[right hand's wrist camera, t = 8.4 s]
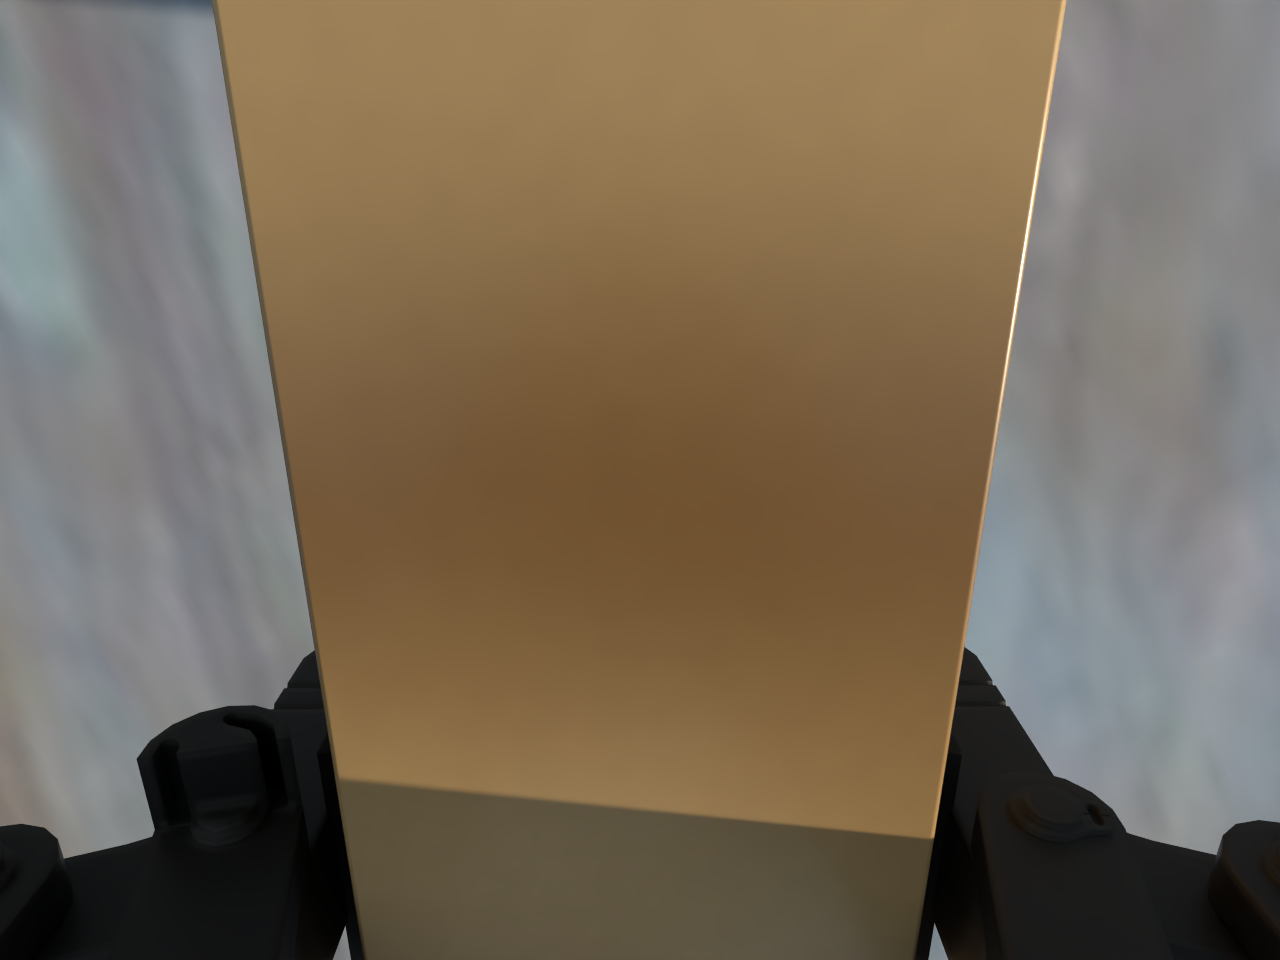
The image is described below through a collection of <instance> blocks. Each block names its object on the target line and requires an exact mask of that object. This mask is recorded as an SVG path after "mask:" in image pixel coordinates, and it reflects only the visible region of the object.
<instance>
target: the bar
mask: <svg viewBox="0 0 1280 960" xmlns="http://www.w3.org/2000/svg"><path fill="white" fill-rule="evenodd" d="M212 5H213V11H214V17H215V24H216V30H217V36H218V42H219V49H220V55H221V61H222V68H223V74H224V80H225V87H226V93H227V99H228V105H229V112H230V118H231V124H232V131H233V137H234V143H235V150H236V156H237V162H238V169H239V175H240V181H241V187H242V194H243V200H244V206H245V213H246V219H247V225H248V232H249V238H250V244H251V250H252V257H253V263H254V269H255V276H256V282H257V288H258V295H259V301H260V307H261V314H262V320H263V326H264V332H265V339H266V345H267V351H268V358H269V364H270V370H271V377H272V383H273V389H274V395H275V402H276V408H277V414H278V421H279V427H280V433H281V440H282V446H283V452H284V458H285V465H286V471H287V477H288V484H289V490H290V496H291V503H292V509H293V515H294V522H295V528H296V534H297V540H298V547H299V553H300V559H301V566H302V572H303V578H304V585H305V591H306V597H307V603H308V610H309V616H310V622H311V629H312V635H313V641H314V648H315V654H316V660H317V666H318V673H319V679H320V685H321V692H322V698H323V704H324V711H325V717H326V723H327V730H328V736H329V742H330V748H331V755H332V761H333V767H334V774H335V780H336V786H337V793H338V799H339V805H340V811H341V818H342V824H343V830H344V837H345V843H346V849H347V856H348V862H349V868H350V874H351V881H352V887H353V893H354V900H355V906H356V912H357V919H358V925H359V931H360V938H361V944H362V950H363V956H364V960H915V955H916V949H917V942H918V936H919V930H920V923H921V917H922V911H923V904H924V898H925V892H926V885H927V879H928V873H929V866H930V860H931V854H932V847H933V841H934V835H935V828H936V822H937V816H938V810H939V803H940V797H941V791H942V784H943V778H944V772H945V765H946V759H947V753H948V746H949V740H950V734H951V727H952V721H953V715H954V708H955V702H956V696H957V689H958V683H959V677H960V670H961V664H962V658H963V651H964V645H965V639H966V632H967V626H968V620H969V613H970V607H971V601H972V594H973V588H974V582H975V576H976V569H977V563H978V557H979V550H980V544H981V538H982V531H983V525H984V519H985V512H986V506H987V500H988V493H989V487H990V481H991V474H992V468H993V462H994V455H995V449H996V443H997V436H998V430H999V424H1000V417H1001V411H1002V405H1003V398H1004V392H1005V386H1006V379H1007V373H1008V367H1009V360H1010V354H1011V348H1012V341H1013V335H1014V329H1015V323H1016V316H1017V310H1018V304H1019V297H1020V291H1021V285H1022V278H1023V272H1024V266H1025V259H1026V253H1027V247H1028V240H1029V234H1030V228H1031V221H1032V215H1033V209H1034V202H1035V196H1036V190H1037V183H1038V177H1039V171H1040V164H1041V158H1042V152H1043V145H1044V139H1045V133H1046V126H1047V120H1048V114H1049V107H1050V101H1051V95H1052V89H1053V82H1054V76H1055V70H1056V63H1057V57H1058V51H1059V44H1060V38H1061V32H1062V25H1063V19H1064V13H1065V6H1066V0H212Z"/></svg>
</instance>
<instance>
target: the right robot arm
mask: <svg viewBox="0 0 1280 960" xmlns="http://www.w3.org/2000/svg"><path fill="white" fill-rule="evenodd" d="M137 762H138V766H139V770H140V774H141V778H142V782H143V786H144V789H145V793H146V797H147V801H148V805H149V809H150V812H151V816H152V820H153V824H154V828H155V831H154V834H153V836H152V837H150V838H146V839H143V840H140V841H136V842H133V843H130V844H126V845H122V846H117V847H113V848H109V849H104V850H100V851H96V852H91V853H87V854H83V855H78V856H74V857H69V858H65V859H64V858H63V855H62V852H61V848H60V845H59V842H58V839H57V838H56V837H55V836H53V835H52V834H51V833H50V832H49V831H48V830H46V829H45V828H43V827H37V826H31V825H25V824H17V825H9V826H1V827H0V960H333V957H334V955H335V952H336V949H337V947H338V944H339V941H340V939H341V936H342V933H343V930H344V928H345V925H346V931H347V937H348V943H349V949H350V955H351V960H364V956H363V950H362V944H361V938H360V931H359V925H358V919H357V912H356V906H355V900H354V893H353V887H352V881H351V874H350V868H349V862H348V856H347V849H346V843H345V837H344V830H343V824H342V818H341V811H340V805H339V799H338V793H337V786H336V780H335V774H334V767H333V761H332V755H331V748H330V742H329V736H328V730H327V723H326V717H325V711H324V704H323V698H322V692H321V685H320V679H319V673H318V666H317V660H316V654H315V650H314V651H313V652H312V653H310V654H309V655H308V656H306V657H305V658H304V659H303V660H302V662H301V663H300V665H299V666H298V668H297V669H296V671H295V673H294V674H293V676H292V677H291V679H290V680H289V682H288V687H287V688H284V690H283V691H282V693H281V694H280V696H279V698H278V699H277V701H276V702H275V704H274V709H271V710H270V709H266V708H262V707H259V706H255V705H252V706H226V707H222V708H218V709H213V710H209V711H205V712H201V713H198V714H196V715H193V716H191V717H189V718H187V719H184V720H182V721H180V722H177V723H175V724H173V725H171V726H170V727H169V728H167V729H166V730H164V731H163V732H162V733H160V734H159V735H158V736H156V737H155V738H153V739H152V740H151V741H150V742H149V743H148V744H147V746H146V747H145V748H144V750H143V751H142V752H141V754H140V755H139V756H138V758H137ZM934 922H935V925H936V928H937V930H938V933H939V936H940V938H941V941H942V944H943V946H944V949H945V952H946V954H947V957H948V960H1280V823H1278V822H1270V821H1262V820H1257V821H1251V822H1245V823H1239V824H1235V825H1234V826H1233V827H1232V828H1231V829H1230V830H1228V831H1227V832H1226V833H1225V834H1224V835H1223V836H1222V840H1221V843H1220V846H1219V849H1218V852H1217V855H1213V854H1209V853H1204V852H1200V851H1196V850H1191V849H1187V848H1182V847H1178V846H1174V845H1169V844H1165V843H1161V842H1156V841H1152V840H1149V839H1145V838H1142V837H1139V836H1135V835H1132V834H1129V833H1127V832H1126V830H1125V828H1124V826H1123V825H1122V823H1121V822H1120V820H1119V819H1118V817H1117V815H1116V814H1115V812H1114V811H1113V809H1111V808H1110V807H1109V806H1108V805H1107V804H1105V803H1104V802H1103V801H1102V800H1101V799H1099V798H1098V797H1097V796H1096V795H1094V794H1093V793H1092V792H1090V791H1088V790H1086V789H1084V788H1082V787H1080V786H1078V785H1076V784H1074V783H1072V782H1070V781H1068V780H1066V779H1063V778H1059V777H1055V776H1054V775H1053V774H1052V772H1051V771H1050V769H1049V768H1048V766H1047V765H1046V763H1045V761H1044V760H1043V758H1042V757H1041V755H1040V754H1039V752H1038V751H1037V749H1036V747H1035V746H1034V744H1033V743H1032V741H1031V740H1030V738H1029V737H1028V735H1027V734H1026V732H1025V730H1024V729H1023V727H1022V726H1021V724H1020V723H1019V721H1018V720H1017V718H1016V716H1015V715H1014V713H1013V712H1012V710H1011V709H1010V707H1009V706H1006V701H1005V699H1004V698H1003V696H1002V695H1001V693H1000V692H999V690H998V689H997V687H996V685H993V684H992V679H991V678H990V676H989V675H988V673H987V671H986V670H985V668H984V667H983V665H982V664H981V662H980V661H979V659H978V658H977V656H976V655H975V654H973V653H972V652H971V651H969V650H968V649H966V648H965V647H964V651H963V658H962V664H961V670H960V677H959V683H958V689H957V696H956V702H955V708H954V715H953V721H952V727H951V734H950V740H949V746H948V753H947V759H946V765H945V772H944V778H943V784H942V791H941V797H940V803H939V810H938V816H937V822H936V828H935V835H934V841H933V847H932V854H931V860H930V866H929V873H928V879H927V885H926V892H925V898H924V904H923V911H922V917H921V923H920V930H919V936H918V942H917V949H916V955H915V960H928V958H929V952H930V946H931V940H932V934H933V928H934Z"/></svg>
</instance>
